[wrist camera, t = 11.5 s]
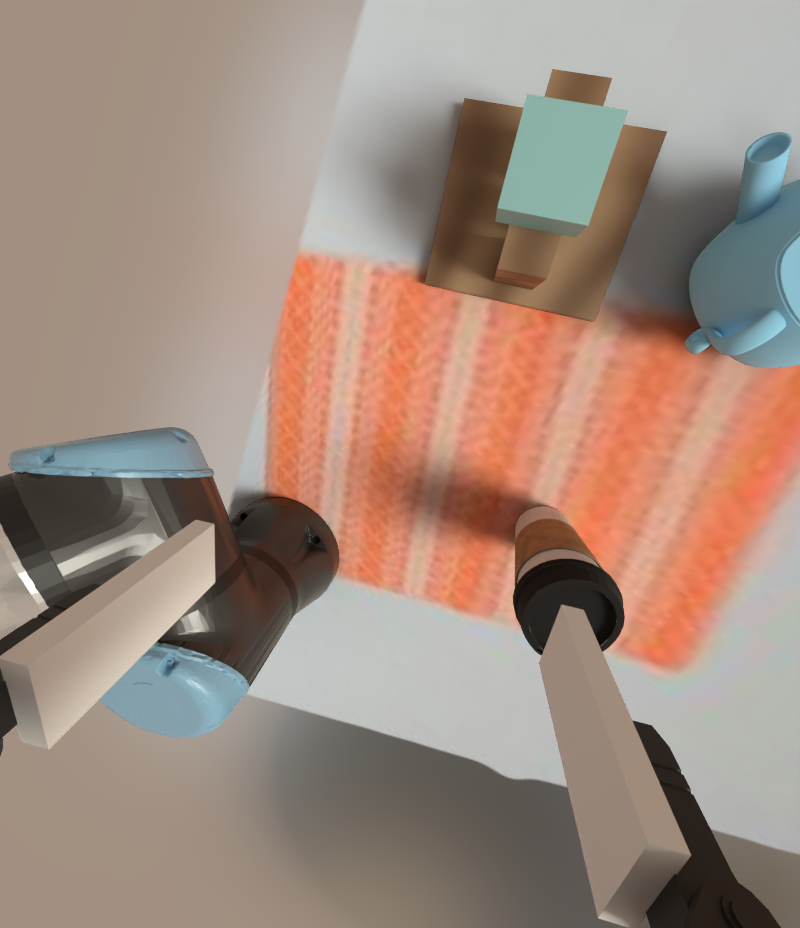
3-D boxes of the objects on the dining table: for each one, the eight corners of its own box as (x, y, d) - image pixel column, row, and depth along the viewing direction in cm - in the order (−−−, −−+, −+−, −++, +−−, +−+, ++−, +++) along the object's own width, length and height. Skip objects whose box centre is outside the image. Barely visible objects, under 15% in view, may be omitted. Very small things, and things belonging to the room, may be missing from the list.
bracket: (425, 284, 37) (410, 271, 28) (465, 104, 32) (460, 24, 23) (591, 321, 35) (627, 318, 27) (661, 137, 30) (731, 63, 22)
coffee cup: (488, 533, 44) (493, 626, 30) (537, 481, 41) (567, 557, 27) (546, 573, 45) (577, 683, 31) (599, 524, 41) (660, 622, 28)
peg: (491, 243, 33) (497, 208, 23) (512, 166, 31) (527, 94, 21) (556, 256, 32) (588, 225, 23) (581, 179, 30) (628, 110, 21)
